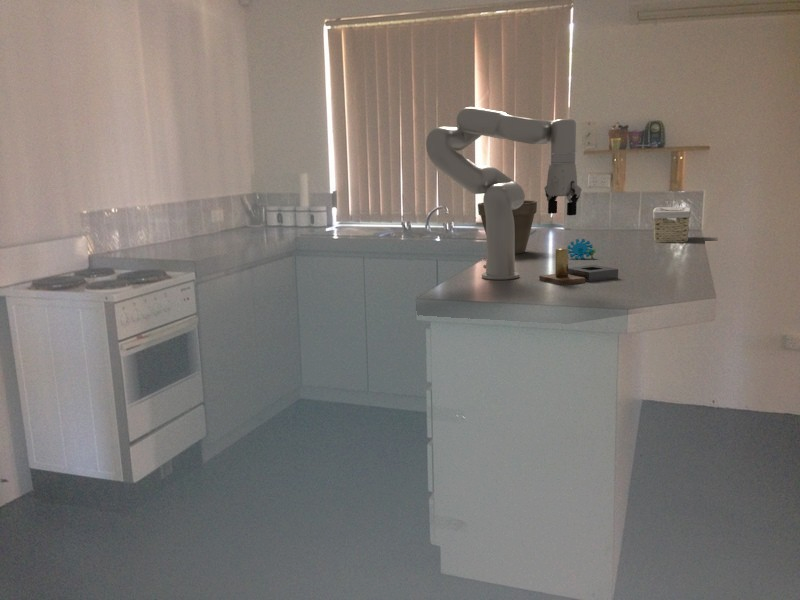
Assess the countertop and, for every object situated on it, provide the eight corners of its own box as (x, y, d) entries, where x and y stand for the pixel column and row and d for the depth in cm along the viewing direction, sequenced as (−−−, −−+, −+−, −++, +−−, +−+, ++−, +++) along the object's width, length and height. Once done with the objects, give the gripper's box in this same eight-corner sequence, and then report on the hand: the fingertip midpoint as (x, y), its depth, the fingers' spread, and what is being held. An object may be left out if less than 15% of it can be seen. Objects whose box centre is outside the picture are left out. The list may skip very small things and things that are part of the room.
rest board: (539, 280, 236) (539, 275, 236) (561, 277, 240) (561, 273, 239) (562, 285, 225) (562, 280, 225) (584, 282, 229) (585, 277, 229)
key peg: (552, 276, 233) (553, 249, 232) (562, 275, 235) (563, 248, 233) (560, 278, 230) (560, 250, 228) (570, 276, 231) (570, 249, 230)
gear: (563, 255, 283) (571, 235, 287) (565, 264, 287) (572, 244, 291) (590, 260, 277) (598, 240, 282) (592, 269, 282) (599, 249, 286)
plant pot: (473, 256, 301) (472, 204, 297) (483, 248, 325) (483, 200, 320) (533, 256, 294) (533, 203, 290) (539, 249, 317) (539, 199, 313)
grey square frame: (565, 276, 241) (565, 268, 240) (593, 273, 246) (593, 264, 245) (588, 281, 230) (589, 272, 230) (618, 278, 235) (618, 269, 235)
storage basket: (689, 243, 321) (690, 210, 318) (651, 243, 327) (652, 210, 324) (689, 237, 343) (690, 206, 340) (653, 237, 349) (654, 206, 346)
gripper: (536, 160, 231) (536, 213, 235) (570, 159, 216) (569, 216, 219) (555, 159, 235) (554, 212, 238) (590, 159, 219) (589, 215, 222)
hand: (561, 214), depth 229 cm, fingers open, 9 cm apart
